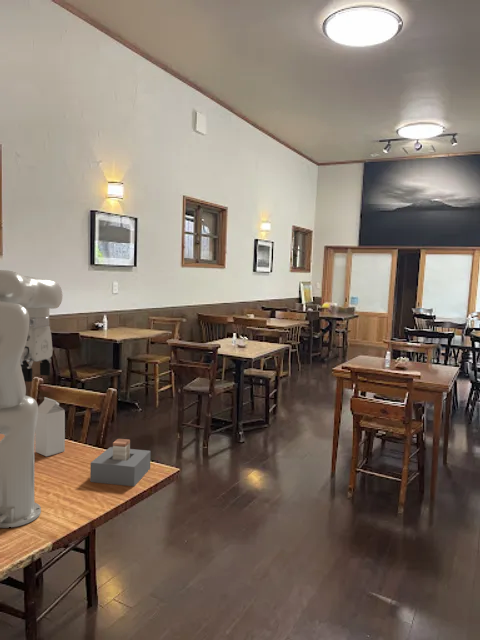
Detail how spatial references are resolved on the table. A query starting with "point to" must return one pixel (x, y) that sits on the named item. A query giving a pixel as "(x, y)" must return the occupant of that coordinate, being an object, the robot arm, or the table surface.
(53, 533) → the table surface
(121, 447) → the peg
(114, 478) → the socket block
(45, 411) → the milk carton
